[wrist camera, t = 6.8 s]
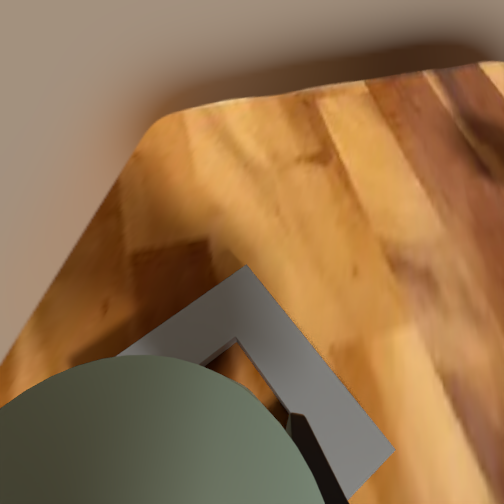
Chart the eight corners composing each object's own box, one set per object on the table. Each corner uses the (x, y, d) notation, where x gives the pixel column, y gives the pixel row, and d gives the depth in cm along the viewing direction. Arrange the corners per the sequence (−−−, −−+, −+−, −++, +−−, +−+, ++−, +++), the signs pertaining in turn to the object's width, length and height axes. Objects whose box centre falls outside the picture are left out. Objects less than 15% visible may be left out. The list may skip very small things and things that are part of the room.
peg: (232, 511, 14) (124, 1412, 2) (152, 446, 14) (-286, 724, 3) (284, 413, 15) (422, 515, 3) (209, 361, 16) (99, 286, 4)
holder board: (193, 628, 15) (184, 672, 13) (78, 396, 19) (55, 398, 17) (377, 441, 19) (395, 449, 16) (246, 276, 22) (246, 264, 20)
